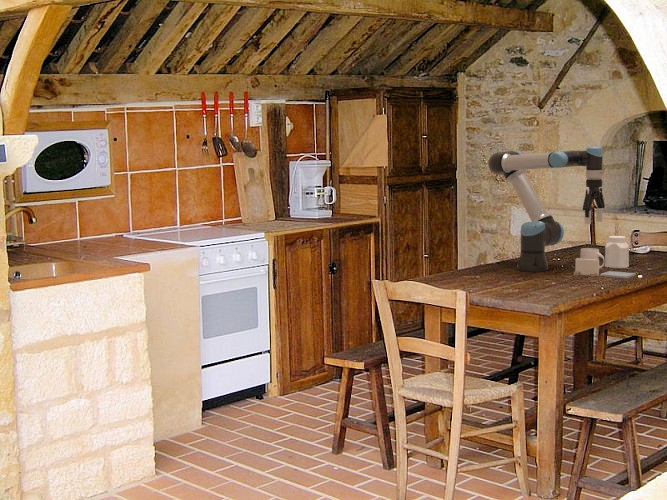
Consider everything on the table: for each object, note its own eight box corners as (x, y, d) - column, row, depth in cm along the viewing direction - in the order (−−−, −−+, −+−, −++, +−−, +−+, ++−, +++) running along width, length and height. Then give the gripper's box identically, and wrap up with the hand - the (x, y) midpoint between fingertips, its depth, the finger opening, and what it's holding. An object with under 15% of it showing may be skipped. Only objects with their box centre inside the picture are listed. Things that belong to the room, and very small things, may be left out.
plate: (599, 276, 444) (599, 274, 444) (609, 273, 452) (609, 271, 452) (626, 278, 436) (626, 276, 435) (635, 275, 444) (635, 273, 444)
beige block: (572, 275, 448) (572, 259, 447) (577, 273, 452) (577, 258, 451) (594, 277, 442) (594, 261, 441) (599, 275, 445) (599, 259, 444)
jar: (602, 267, 471) (602, 237, 469) (608, 264, 479) (609, 235, 477) (625, 268, 465) (625, 238, 463) (631, 266, 472) (631, 236, 471)
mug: (600, 273, 452) (600, 251, 450) (577, 271, 460) (577, 249, 458) (608, 271, 458) (608, 249, 457) (585, 269, 466) (585, 247, 465)
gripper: (590, 180, 441) (590, 225, 444) (612, 177, 460) (611, 220, 463) (575, 180, 446) (575, 224, 448) (597, 177, 465) (596, 220, 468)
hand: (593, 222), depth 456 cm, fingers open, 13 cm apart
